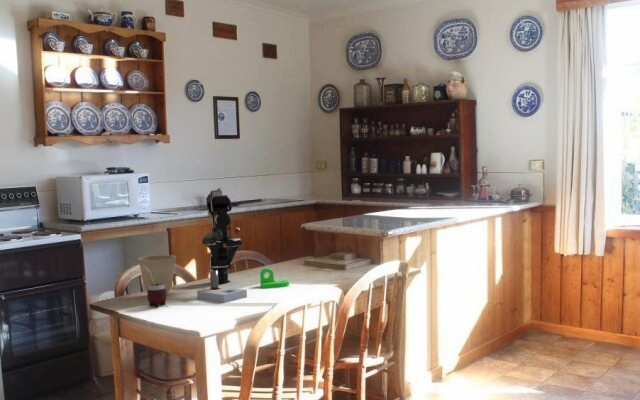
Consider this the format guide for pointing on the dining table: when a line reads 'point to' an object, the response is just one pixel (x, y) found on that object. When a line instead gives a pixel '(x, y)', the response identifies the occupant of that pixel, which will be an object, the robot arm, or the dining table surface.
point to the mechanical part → (271, 280)
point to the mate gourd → (156, 293)
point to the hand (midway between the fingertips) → (222, 261)
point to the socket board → (222, 294)
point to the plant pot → (158, 270)
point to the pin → (214, 279)
